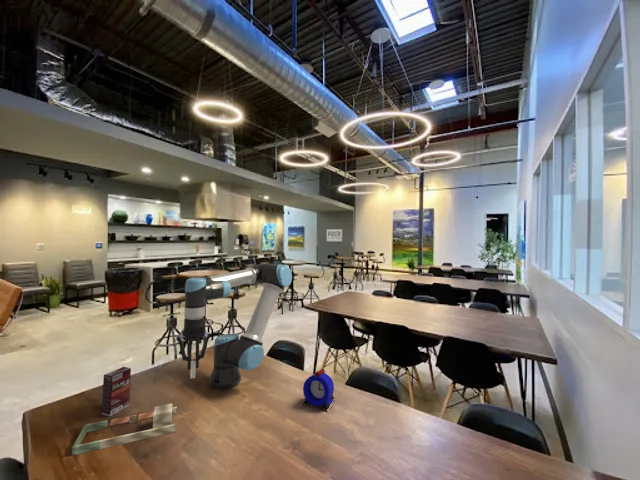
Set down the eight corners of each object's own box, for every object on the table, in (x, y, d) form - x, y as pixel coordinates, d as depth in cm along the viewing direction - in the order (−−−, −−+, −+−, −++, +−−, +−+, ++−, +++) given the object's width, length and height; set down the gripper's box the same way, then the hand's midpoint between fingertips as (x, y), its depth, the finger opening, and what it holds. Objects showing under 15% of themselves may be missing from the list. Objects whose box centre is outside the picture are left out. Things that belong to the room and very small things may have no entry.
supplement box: (110, 417, 112) (111, 376, 112) (101, 414, 113) (102, 374, 114) (130, 405, 120) (131, 367, 121) (121, 403, 122) (123, 366, 122)
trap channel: (176, 407, 120) (176, 401, 120) (175, 431, 104) (175, 425, 104) (88, 425, 107) (88, 418, 107) (71, 455, 92) (72, 447, 92)
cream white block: (171, 418, 112) (172, 403, 112) (171, 427, 107) (171, 411, 107) (154, 422, 110) (154, 406, 110) (152, 431, 104) (153, 415, 104)
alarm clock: (301, 406, 123) (302, 371, 123) (312, 392, 134) (313, 361, 135) (327, 413, 118) (328, 377, 119) (337, 398, 130) (337, 365, 130)
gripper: (211, 313, 119) (209, 370, 119) (176, 316, 114) (174, 375, 113) (213, 318, 113) (211, 378, 112) (175, 321, 107) (173, 384, 107)
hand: (192, 376), depth 113 cm, fingers closed
